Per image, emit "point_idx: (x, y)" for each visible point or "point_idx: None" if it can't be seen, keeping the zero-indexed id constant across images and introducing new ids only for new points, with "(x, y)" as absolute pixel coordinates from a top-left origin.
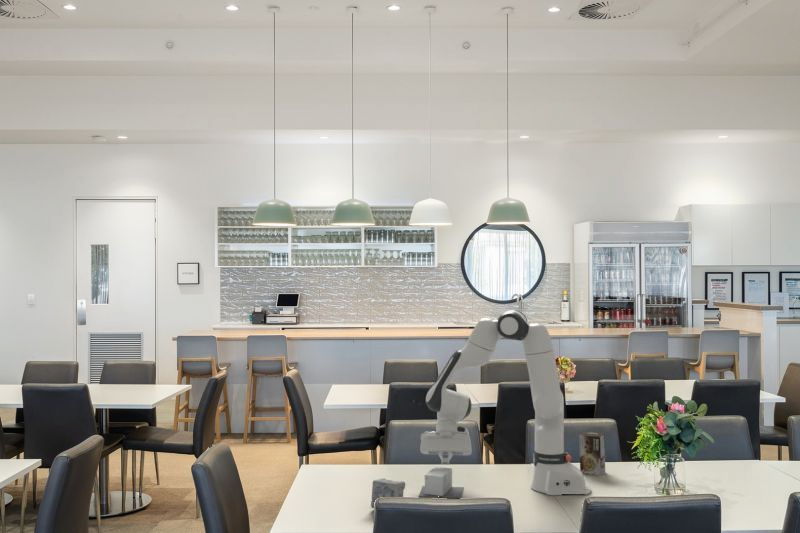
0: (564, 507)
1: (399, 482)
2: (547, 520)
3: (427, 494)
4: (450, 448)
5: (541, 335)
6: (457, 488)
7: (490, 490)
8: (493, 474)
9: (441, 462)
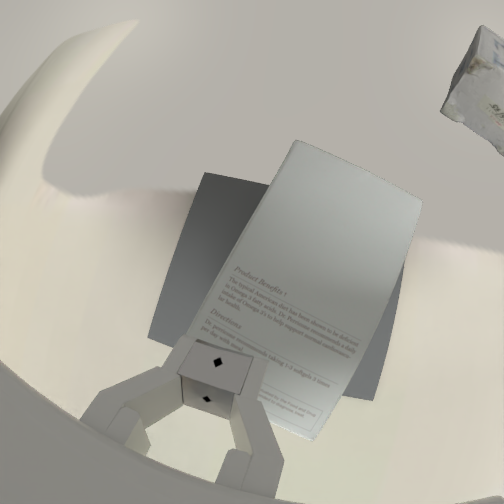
0: (5, 119)
1: (484, 42)
2: (79, 48)
3: None
4: (68, 443)
5: None
6: (183, 322)
7: (57, 277)
8: None
9: (266, 362)
